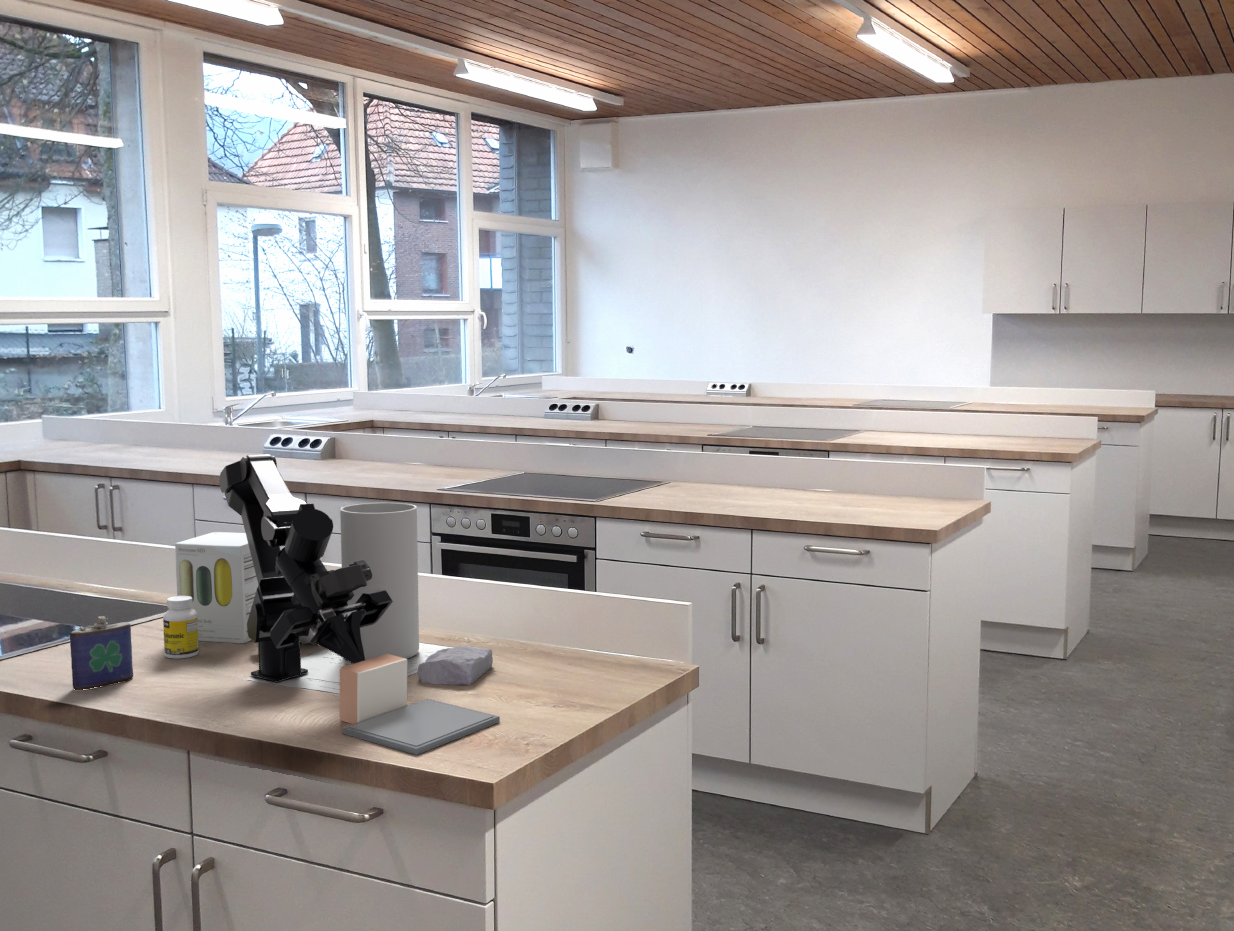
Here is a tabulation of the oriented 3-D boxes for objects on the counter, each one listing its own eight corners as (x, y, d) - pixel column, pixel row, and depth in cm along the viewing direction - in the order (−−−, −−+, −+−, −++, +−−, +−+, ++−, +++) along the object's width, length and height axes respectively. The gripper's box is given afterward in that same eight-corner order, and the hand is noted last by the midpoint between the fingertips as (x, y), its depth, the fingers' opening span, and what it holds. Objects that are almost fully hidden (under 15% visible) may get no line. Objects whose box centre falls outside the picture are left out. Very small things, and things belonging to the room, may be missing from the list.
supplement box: (176, 640, 207) (172, 542, 205) (217, 622, 220) (214, 530, 218) (244, 644, 204) (240, 545, 202) (281, 626, 217) (279, 533, 215)
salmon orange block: (339, 719, 163) (339, 667, 162) (387, 703, 170) (387, 653, 169) (359, 726, 161) (359, 673, 160) (406, 709, 168) (407, 659, 167)
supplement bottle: (157, 657, 195) (155, 599, 194) (180, 649, 200) (178, 593, 199) (183, 660, 193) (180, 602, 192) (205, 652, 198) (203, 596, 197)
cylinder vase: (378, 641, 206) (375, 500, 203) (434, 650, 200) (432, 506, 197) (327, 657, 195) (324, 509, 193) (384, 668, 189) (381, 515, 186)
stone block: (414, 695, 181) (475, 686, 179) (408, 665, 181) (469, 655, 179) (441, 676, 193) (498, 668, 191) (436, 648, 193) (493, 639, 191)
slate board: (342, 733, 158) (342, 726, 157) (427, 703, 170) (427, 697, 170) (416, 754, 149) (416, 748, 149) (499, 722, 162) (499, 715, 162)
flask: (129, 676, 185) (126, 609, 183) (137, 679, 183) (134, 612, 181) (69, 688, 178) (66, 620, 177) (77, 693, 176) (74, 623, 175)
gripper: (280, 553, 160) (336, 644, 154) (382, 535, 175) (437, 617, 169) (246, 603, 165) (299, 692, 160) (348, 581, 180) (400, 662, 175)
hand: (362, 664), depth 166 cm, fingers closed
